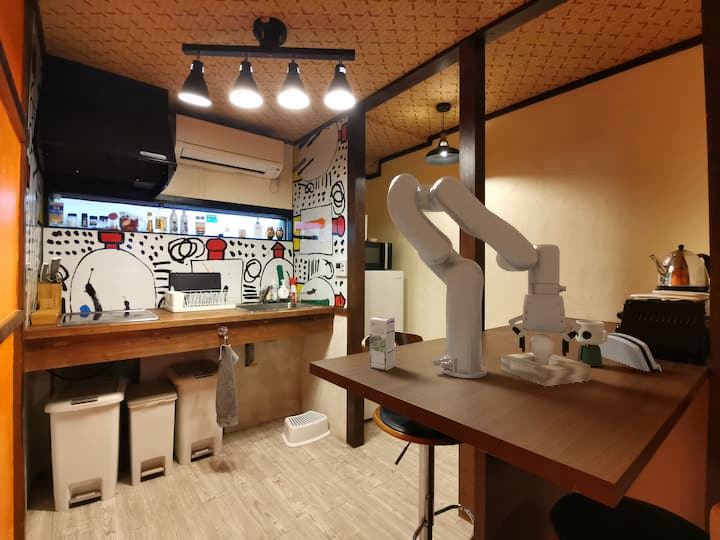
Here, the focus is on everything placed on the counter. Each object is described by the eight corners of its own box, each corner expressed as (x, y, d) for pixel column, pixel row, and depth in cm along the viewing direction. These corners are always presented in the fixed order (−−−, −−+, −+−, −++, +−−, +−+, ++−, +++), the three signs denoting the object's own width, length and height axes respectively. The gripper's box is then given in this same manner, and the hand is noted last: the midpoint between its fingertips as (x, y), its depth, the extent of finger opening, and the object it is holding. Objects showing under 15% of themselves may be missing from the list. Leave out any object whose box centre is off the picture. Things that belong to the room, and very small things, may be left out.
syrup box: (395, 366, 98) (395, 317, 98) (386, 371, 93) (386, 319, 93) (378, 363, 101) (378, 315, 101) (368, 368, 96) (368, 318, 96)
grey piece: (663, 371, 93) (651, 338, 92) (648, 377, 92) (636, 343, 92) (615, 355, 109) (605, 327, 109) (602, 360, 109) (592, 332, 109)
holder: (544, 387, 80) (544, 370, 80) (500, 369, 95) (500, 355, 94) (590, 380, 85) (590, 365, 85) (541, 364, 99) (541, 351, 99)
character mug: (564, 360, 103) (564, 319, 103) (583, 359, 105) (583, 318, 105) (596, 371, 93) (596, 325, 93) (617, 369, 94) (617, 324, 94)
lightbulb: (524, 371, 93) (524, 332, 93) (545, 370, 93) (545, 332, 93) (538, 378, 86) (538, 336, 86) (560, 378, 87) (560, 336, 87)
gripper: (579, 290, 89) (579, 353, 89) (509, 288, 97) (509, 346, 97) (583, 292, 82) (583, 360, 82) (507, 290, 90) (507, 352, 90)
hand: (543, 353), depth 90 cm, fingers open, 9 cm apart
